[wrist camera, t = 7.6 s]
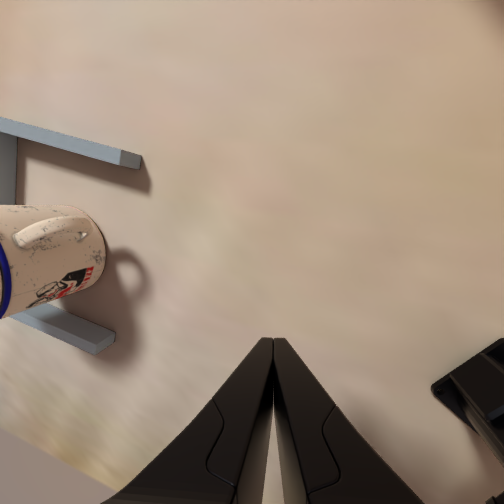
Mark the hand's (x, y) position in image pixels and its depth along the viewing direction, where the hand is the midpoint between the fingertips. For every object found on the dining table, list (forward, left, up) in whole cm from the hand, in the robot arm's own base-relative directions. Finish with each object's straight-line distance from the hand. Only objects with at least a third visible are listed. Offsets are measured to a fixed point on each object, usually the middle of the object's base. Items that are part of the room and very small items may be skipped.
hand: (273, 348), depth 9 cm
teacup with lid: (+17, +13, -12) cm, 24 cm away
